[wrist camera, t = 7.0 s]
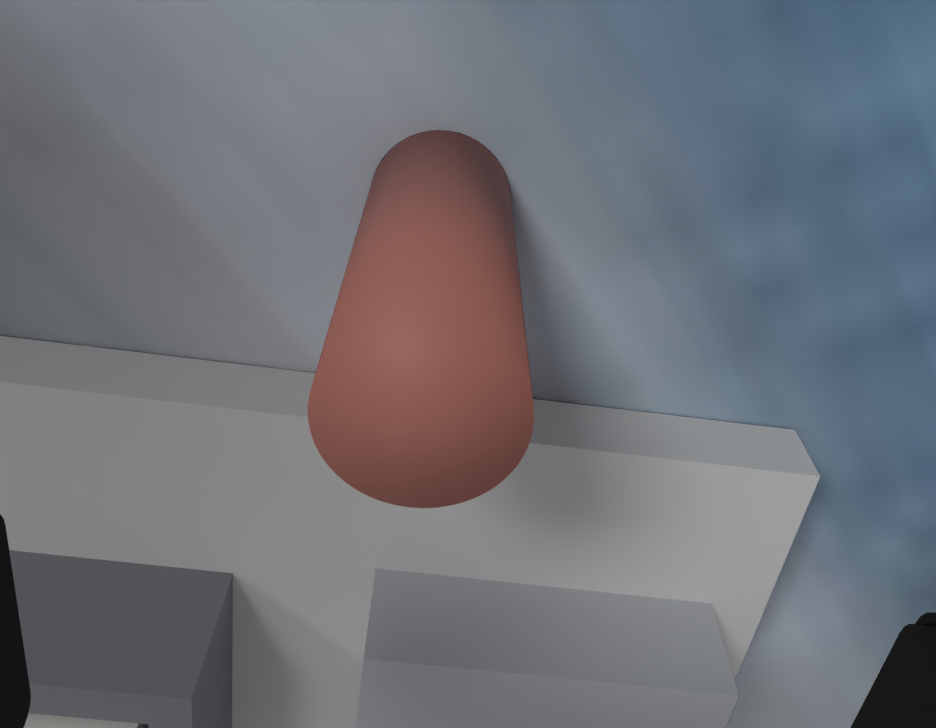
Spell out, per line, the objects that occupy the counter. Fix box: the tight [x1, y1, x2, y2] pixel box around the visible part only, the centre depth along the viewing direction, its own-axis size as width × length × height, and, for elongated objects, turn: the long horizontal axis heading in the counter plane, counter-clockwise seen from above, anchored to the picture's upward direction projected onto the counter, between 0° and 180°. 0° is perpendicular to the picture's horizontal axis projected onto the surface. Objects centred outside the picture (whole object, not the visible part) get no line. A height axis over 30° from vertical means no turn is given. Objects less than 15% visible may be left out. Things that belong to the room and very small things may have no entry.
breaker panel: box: [0, 336, 820, 728], centre depth 25 cm, size 18×24×6 cm
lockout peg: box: [308, 130, 534, 508], centre depth 17 cm, size 3×3×9 cm
